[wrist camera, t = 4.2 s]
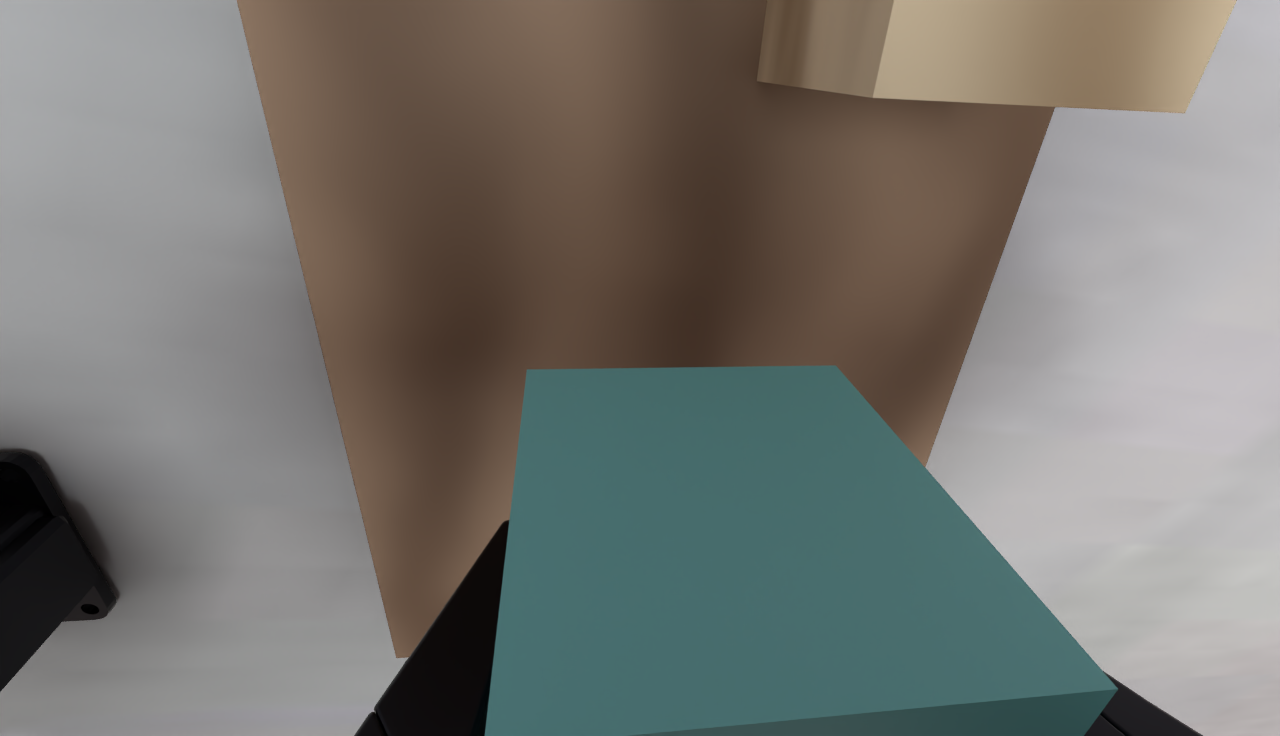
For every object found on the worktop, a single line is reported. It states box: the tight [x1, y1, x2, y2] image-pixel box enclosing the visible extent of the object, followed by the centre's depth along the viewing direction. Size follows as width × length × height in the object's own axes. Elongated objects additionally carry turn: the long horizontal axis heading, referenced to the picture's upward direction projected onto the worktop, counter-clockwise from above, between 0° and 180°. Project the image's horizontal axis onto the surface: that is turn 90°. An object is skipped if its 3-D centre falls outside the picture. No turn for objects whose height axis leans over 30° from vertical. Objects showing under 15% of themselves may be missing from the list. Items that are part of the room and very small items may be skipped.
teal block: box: [485, 365, 1118, 736], centre depth 8 cm, size 5×5×6 cm
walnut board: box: [237, 0, 1055, 658], centre depth 16 cm, size 18×25×1 cm
